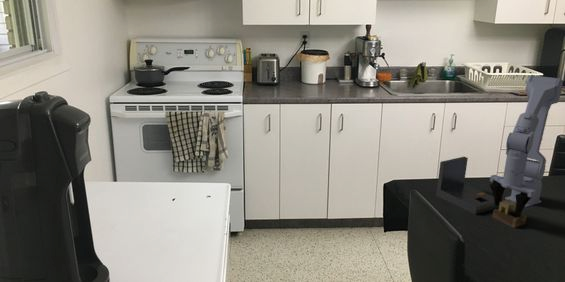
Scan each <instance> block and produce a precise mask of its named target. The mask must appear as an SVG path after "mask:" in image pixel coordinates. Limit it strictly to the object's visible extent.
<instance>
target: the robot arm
mask: <svg viewBox="0 0 565 282" xmlns="http://www.w3.org/2000/svg"><path fill="white" fill-rule="evenodd" d="M563 83H564V80H563V79H562V78H560V77H550V76H541V75H534V74H531V75H529V76H528V78H527V79H526V85H525V92H526V96H527V98H528V101H527V105H526V108H525V112H522V113H520V114H519V117H517V118H518V119H517V121H516V124H515V125H514V128H513V130H512V132H509V133H508V136H507V138H506V146H505V148H506V150H505V155H506V160H505V166H504V171H503V176H499V175H497V174H493V175H490V179H489V182H491V183H490V184H489V187H490V189H491V191H492V194H493V195H492V196H493V197H494V202H495V206H498V205H499V204H500V202H501V201H503V195H504V192H505V189H508V188H509V189H511V193H510V194H511V195H510V196H506V197H505V198H504V199H505V200H508V199H510V200H512V201H514V202H516V209H515V215H519V214H522V212H523V210H524V208H527V207H530V206H533V205H537V204H541V203H542V200H540V197H541V191H542V187H543V183H542V182H543V181H542V179H543V177H544V174H545V173H546V172H545V171H546V163H547V159H546V157H545V155H543V154H542V152H541V151H540V149H541V145H542V140H543V136H544V132H545V130H546V129H545V128H546V124H547V120H548V117H549V111H550V109H551V106H552V105H555V104H558V103H559V101H560V97H561V94H562V89H563Z"/></svg>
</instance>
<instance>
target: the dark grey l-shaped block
mask: <svg viewBox="0 0 565 282" xmlns="http://www.w3.org/2000/svg"><path fill="white" fill-rule="evenodd" d="M468 158H469V157H466V156H461V157H457V158H456V157H455V158H451V159H447V160H441V161H440V163H439V169H438V170H439V171H438V178H437V179H438V180H437V186H436V187H437V188H436V193H435V195H436V197H438V198H440V199H442V200H443V201H447V202H449V203H450V204H452V205H455V206H457V207H459V208H460V209H462V210H465V211H467V212H469V213H471V214H473V215H478V214H482V213H485V212H488V211H492V210H494V209H499V205H498V206H495V202H494V196H493V195H491V194H489V193H486V192H484V191H482V190H480V189H477V188H475V187H472V186H471V185H468V184H466V183H465V180H466V179H465V178H466V174H467V172H466V171H467V167H468Z"/></svg>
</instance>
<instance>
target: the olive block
mask: <svg viewBox="0 0 565 282" xmlns="http://www.w3.org/2000/svg"><path fill="white" fill-rule="evenodd" d="M515 209H516V202H514V201H512V200H510V199H508V200H507V199H505V200H502V201H501V202H500V204H499V208H498V211H500V212H502V211H503V212H504V213H505V214H506V215H508V214H509V215H511V214H512V213H515Z"/></svg>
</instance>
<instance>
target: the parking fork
mask: <svg viewBox="0 0 565 282" xmlns="http://www.w3.org/2000/svg"><path fill="white" fill-rule="evenodd" d="M492 210H493V211H492V217H491V218H493V219H495V220H497V221H498V222H501V223H503V224H505V225H507V226H510V227H511V228H513V229H514V228H518V227H521V226H524V225H526V221H527V215H525V214H523V213H521V214H519V215H515V213H512V214H511V215H509V214H508V215H506V214H505V213H504V212H503V211H502V212H500V211H498V210H499V208H495V209H492Z"/></svg>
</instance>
